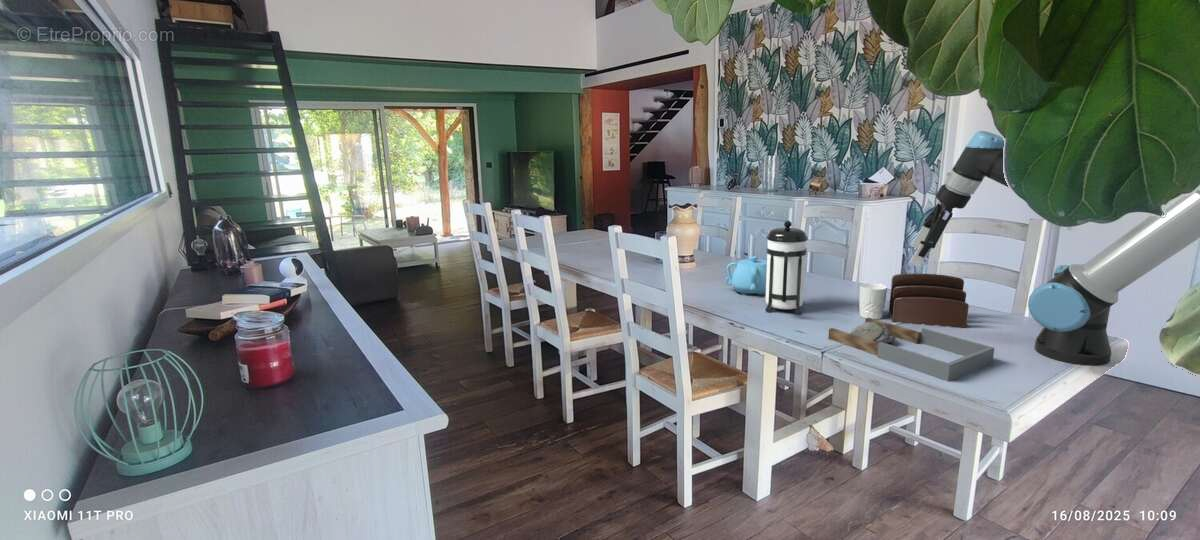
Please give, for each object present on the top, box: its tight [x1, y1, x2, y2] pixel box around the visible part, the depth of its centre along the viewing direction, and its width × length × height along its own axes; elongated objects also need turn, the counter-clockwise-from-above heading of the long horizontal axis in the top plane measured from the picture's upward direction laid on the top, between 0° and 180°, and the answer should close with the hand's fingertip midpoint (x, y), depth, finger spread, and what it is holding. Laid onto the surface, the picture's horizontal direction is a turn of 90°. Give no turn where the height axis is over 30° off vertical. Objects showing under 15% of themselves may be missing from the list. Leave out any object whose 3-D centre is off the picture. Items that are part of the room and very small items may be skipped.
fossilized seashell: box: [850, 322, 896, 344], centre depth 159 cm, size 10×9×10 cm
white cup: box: [858, 282, 888, 320], centre depth 179 cm, size 8×8×10 cm
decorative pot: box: [725, 255, 767, 296], centre depth 210 cm, size 16×16×14 cm
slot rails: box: [828, 318, 921, 356], centre depth 158 cm, size 16×18×3 cm
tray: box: [876, 328, 995, 382], centre depth 144 cm, size 18×20×4 cm
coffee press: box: [765, 220, 809, 316], centre depth 185 cm, size 17×16×30 cm
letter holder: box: [888, 273, 969, 329], centre depth 173 cm, size 10×20×14 cm, turn 69°
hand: (914, 255), depth 160 cm, fingers open, 13 cm apart
